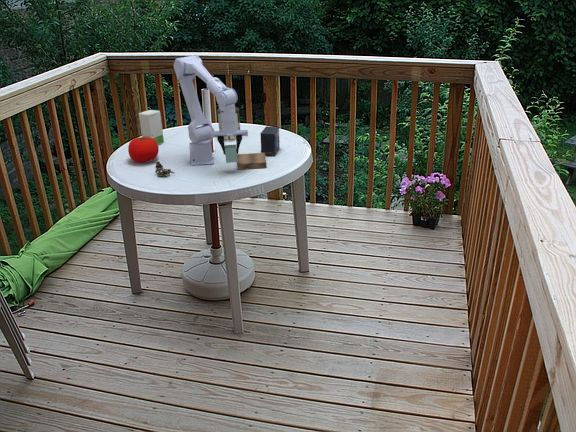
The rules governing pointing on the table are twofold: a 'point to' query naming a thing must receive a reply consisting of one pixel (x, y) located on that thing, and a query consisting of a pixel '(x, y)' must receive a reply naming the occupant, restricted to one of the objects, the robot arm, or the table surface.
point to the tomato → (143, 149)
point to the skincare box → (151, 125)
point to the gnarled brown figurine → (162, 170)
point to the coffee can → (233, 138)
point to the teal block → (230, 153)
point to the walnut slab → (251, 161)
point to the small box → (270, 141)
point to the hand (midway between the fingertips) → (231, 153)
